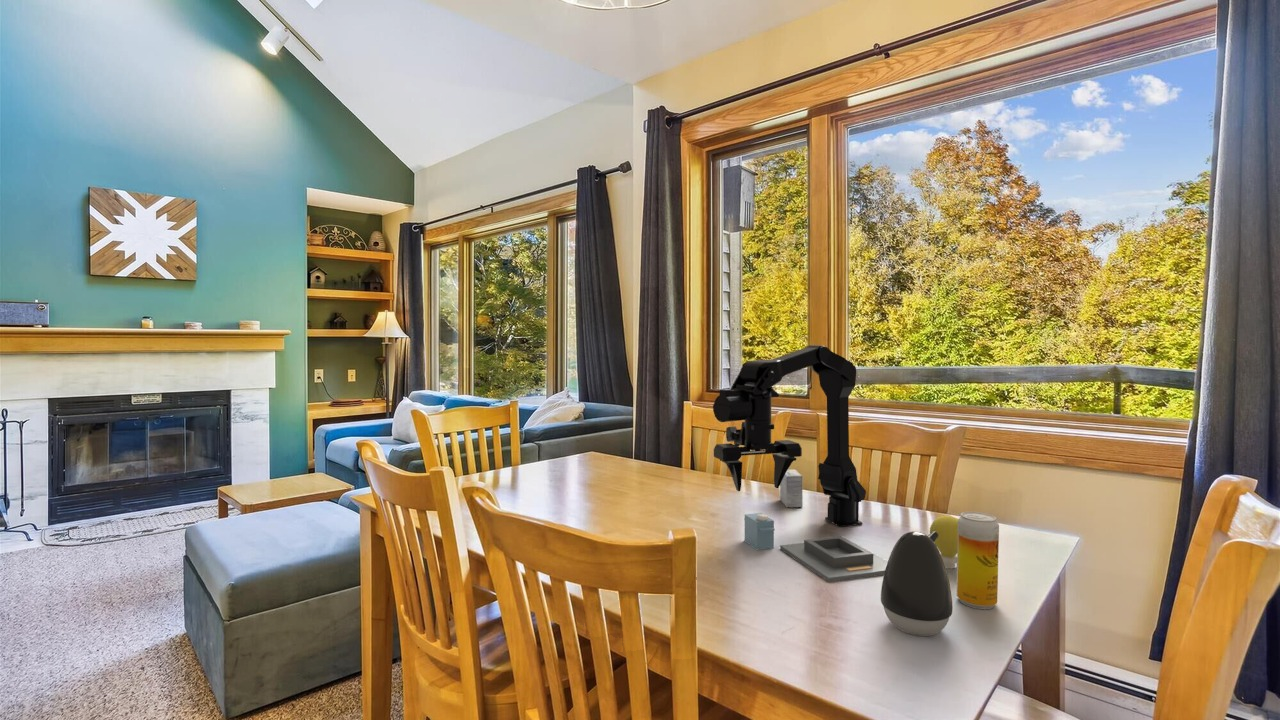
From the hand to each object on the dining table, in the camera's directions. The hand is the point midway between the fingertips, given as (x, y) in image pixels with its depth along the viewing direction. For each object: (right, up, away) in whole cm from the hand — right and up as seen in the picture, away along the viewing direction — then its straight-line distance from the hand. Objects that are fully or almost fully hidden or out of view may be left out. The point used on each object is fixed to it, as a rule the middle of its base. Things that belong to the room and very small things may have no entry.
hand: (757, 489), depth 132 cm
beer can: (+32, -13, -29) cm, 45 cm away
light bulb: (+35, -13, -13) cm, 40 cm away
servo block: (0, -12, 0) cm, 12 cm away
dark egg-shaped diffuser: (+17, -14, -38) cm, 44 cm away
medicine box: (+15, -11, +31) cm, 36 cm away
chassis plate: (+14, -12, -9) cm, 21 cm away
